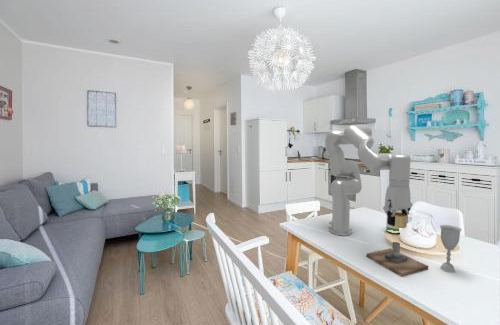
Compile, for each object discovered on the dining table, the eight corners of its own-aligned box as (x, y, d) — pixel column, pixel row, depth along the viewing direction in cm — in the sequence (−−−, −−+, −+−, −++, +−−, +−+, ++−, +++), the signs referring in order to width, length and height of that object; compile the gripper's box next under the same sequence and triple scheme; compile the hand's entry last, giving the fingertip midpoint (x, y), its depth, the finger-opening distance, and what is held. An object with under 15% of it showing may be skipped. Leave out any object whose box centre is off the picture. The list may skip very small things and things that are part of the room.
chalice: (449, 275, 98) (452, 231, 96) (433, 266, 104) (435, 226, 103) (463, 272, 100) (466, 229, 98) (445, 264, 106) (448, 224, 105)
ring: (385, 224, 109) (385, 213, 108) (396, 222, 111) (396, 211, 110) (398, 229, 102) (399, 217, 102) (410, 226, 105) (410, 215, 104)
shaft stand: (366, 256, 114) (366, 238, 113) (390, 251, 119) (391, 233, 118) (401, 276, 97) (402, 255, 97) (427, 269, 103) (429, 248, 102)
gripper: (405, 180, 111) (403, 218, 113) (376, 183, 106) (375, 223, 107) (421, 183, 104) (419, 223, 106) (391, 186, 98) (390, 229, 100)
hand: (397, 223), depth 107 cm, fingers closed on ring, 6 cm apart
